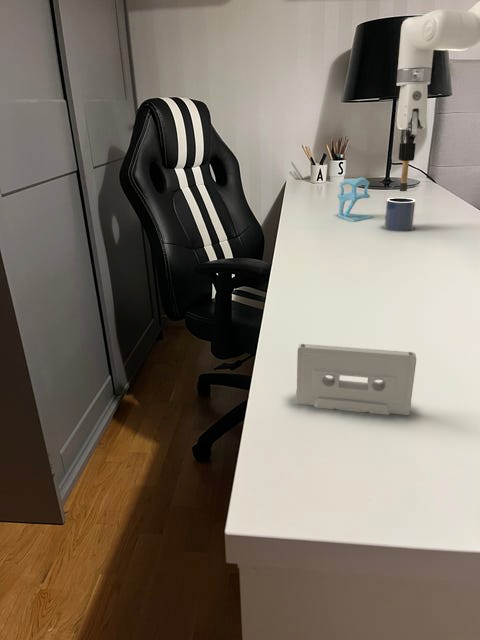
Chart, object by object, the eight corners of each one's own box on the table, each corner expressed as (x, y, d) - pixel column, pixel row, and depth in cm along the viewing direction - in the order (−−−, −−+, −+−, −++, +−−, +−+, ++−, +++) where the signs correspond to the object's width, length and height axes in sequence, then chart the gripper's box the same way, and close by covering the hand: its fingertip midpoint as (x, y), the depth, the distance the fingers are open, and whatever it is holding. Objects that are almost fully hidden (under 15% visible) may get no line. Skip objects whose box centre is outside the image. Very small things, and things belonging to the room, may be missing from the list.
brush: (405, 190, 128) (411, 136, 123) (407, 191, 126) (412, 136, 121) (398, 190, 128) (403, 136, 123) (400, 191, 126) (405, 136, 121)
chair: (350, 215, 151) (352, 174, 146) (372, 219, 145) (375, 177, 140) (332, 219, 147) (334, 176, 142) (353, 223, 141) (356, 179, 136)
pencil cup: (408, 227, 134) (411, 197, 131) (414, 234, 128) (418, 202, 125) (381, 228, 135) (384, 197, 132) (386, 234, 128) (389, 202, 125)
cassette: (294, 411, 55) (296, 349, 52) (297, 402, 56) (298, 341, 53) (409, 423, 52) (418, 358, 49) (408, 413, 54) (416, 350, 51)
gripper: (439, 75, 110) (430, 162, 117) (421, 79, 124) (413, 157, 131) (404, 76, 110) (397, 163, 117) (390, 80, 125) (384, 158, 132)
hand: (406, 159), depth 124 cm, fingers closed on brush, 1 cm apart
